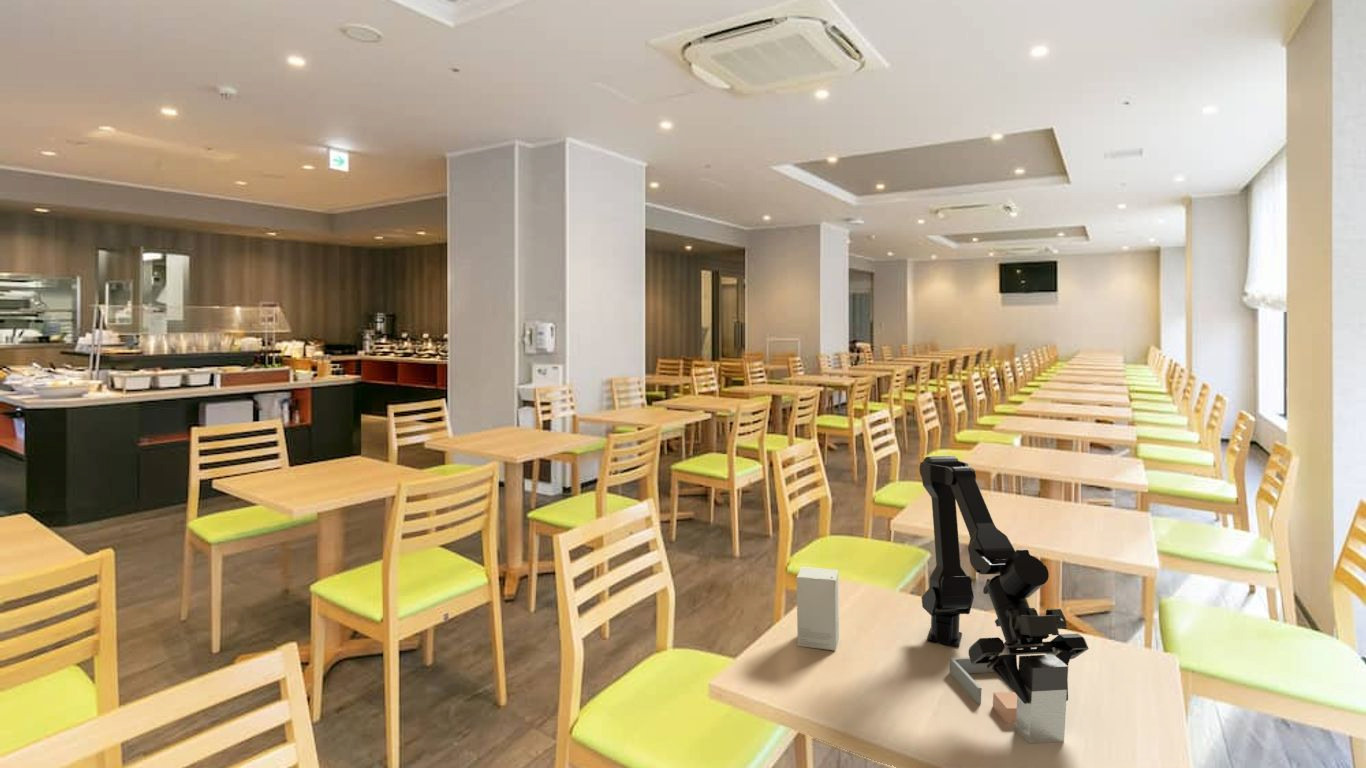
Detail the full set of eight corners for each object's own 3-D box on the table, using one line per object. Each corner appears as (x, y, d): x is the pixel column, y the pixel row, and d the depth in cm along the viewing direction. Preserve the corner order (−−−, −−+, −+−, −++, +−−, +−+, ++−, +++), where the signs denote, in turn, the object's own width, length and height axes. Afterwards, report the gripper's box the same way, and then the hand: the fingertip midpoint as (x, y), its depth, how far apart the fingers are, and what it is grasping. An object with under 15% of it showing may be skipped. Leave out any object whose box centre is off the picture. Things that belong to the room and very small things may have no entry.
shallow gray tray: (949, 672, 137) (950, 658, 136) (1004, 669, 138) (1004, 655, 137) (977, 703, 126) (978, 688, 126) (1036, 700, 127) (1037, 684, 127)
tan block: (992, 708, 125) (993, 692, 125) (1031, 707, 125) (1032, 691, 125) (1006, 724, 120) (1006, 708, 120) (1046, 724, 120) (1047, 707, 120)
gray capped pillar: (1015, 729, 118) (1019, 656, 117) (1049, 727, 119) (1053, 654, 118) (1029, 743, 114) (1033, 668, 113) (1064, 741, 115) (1068, 666, 114)
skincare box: (839, 638, 151) (840, 569, 149) (835, 652, 145) (837, 580, 143) (800, 633, 154) (801, 564, 152) (795, 646, 148) (796, 575, 146)
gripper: (979, 593, 117) (1013, 691, 108) (1084, 588, 119) (1127, 684, 109) (955, 617, 126) (984, 710, 116) (1053, 613, 128) (1090, 704, 118)
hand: (1046, 702), depth 115 cm, fingers open, 6 cm apart
